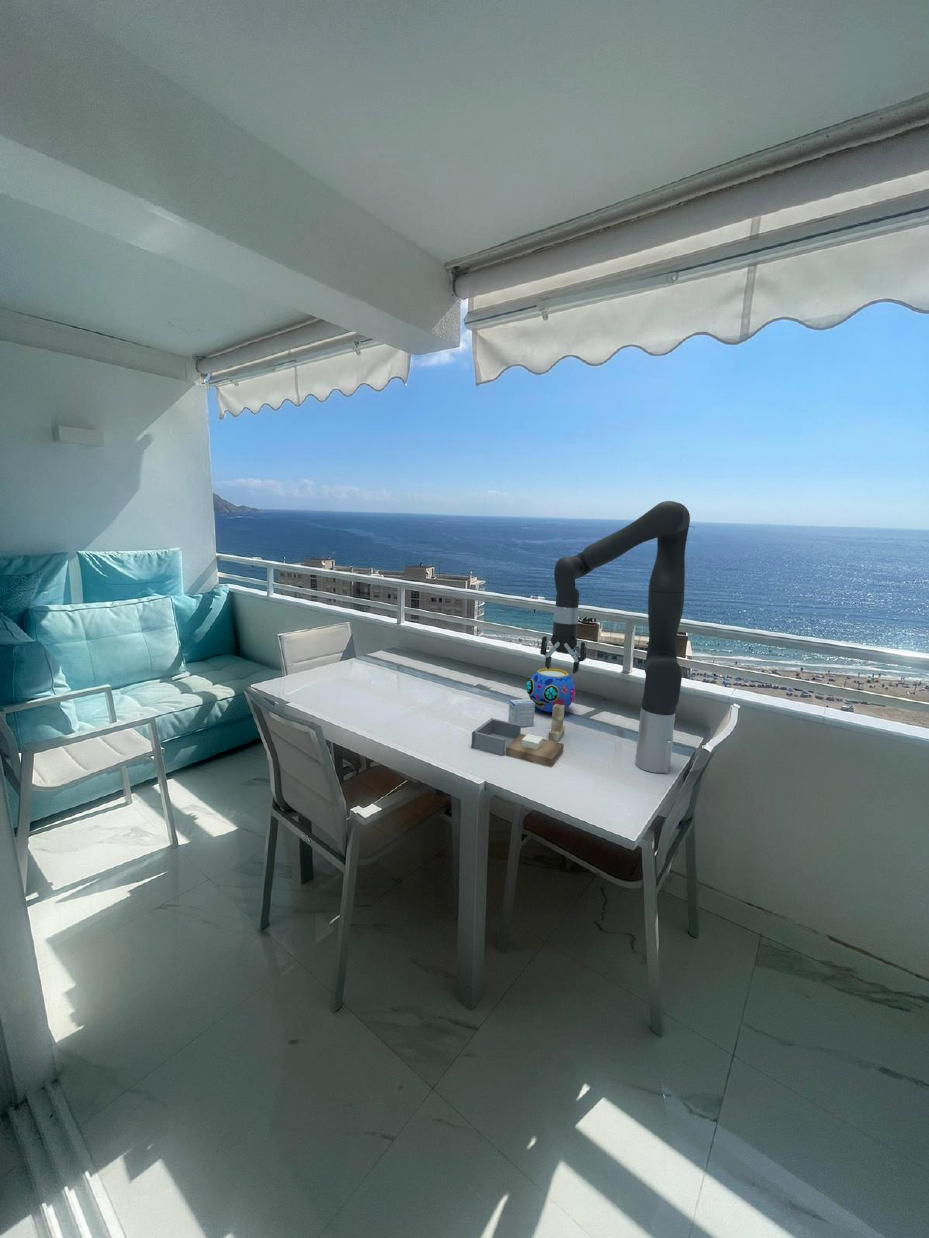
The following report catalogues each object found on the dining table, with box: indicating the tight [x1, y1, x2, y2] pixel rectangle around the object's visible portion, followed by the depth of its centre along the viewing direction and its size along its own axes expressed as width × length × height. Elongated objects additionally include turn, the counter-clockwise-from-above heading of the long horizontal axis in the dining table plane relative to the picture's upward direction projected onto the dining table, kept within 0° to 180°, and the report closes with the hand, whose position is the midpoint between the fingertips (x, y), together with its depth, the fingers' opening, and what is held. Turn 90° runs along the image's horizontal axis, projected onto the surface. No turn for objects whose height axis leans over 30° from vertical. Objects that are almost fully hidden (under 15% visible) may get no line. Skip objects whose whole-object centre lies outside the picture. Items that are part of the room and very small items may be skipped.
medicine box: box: [507, 698, 536, 728], centre depth 167 cm, size 8×4×9 cm, turn 111°
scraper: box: [547, 704, 566, 743], centre depth 157 cm, size 3×8×11 cm, turn 152°
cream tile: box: [522, 733, 544, 750], centre depth 145 cm, size 5×5×2 cm
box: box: [471, 717, 522, 757], centre depth 151 cm, size 10×14×5 cm
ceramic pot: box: [525, 667, 576, 713], centre depth 182 cm, size 18×18×15 cm
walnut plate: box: [505, 733, 565, 768], centre depth 145 cm, size 14×12×2 cm
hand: (561, 670), depth 154 cm, fingers open, 8 cm apart
